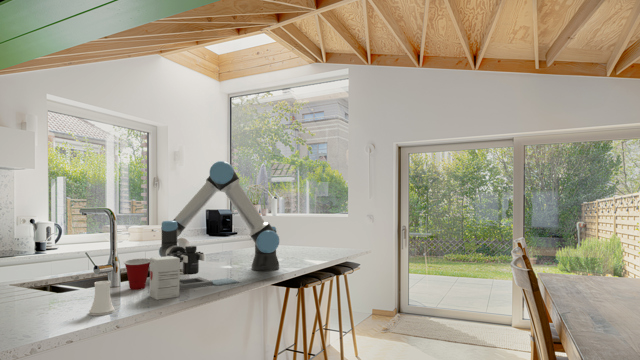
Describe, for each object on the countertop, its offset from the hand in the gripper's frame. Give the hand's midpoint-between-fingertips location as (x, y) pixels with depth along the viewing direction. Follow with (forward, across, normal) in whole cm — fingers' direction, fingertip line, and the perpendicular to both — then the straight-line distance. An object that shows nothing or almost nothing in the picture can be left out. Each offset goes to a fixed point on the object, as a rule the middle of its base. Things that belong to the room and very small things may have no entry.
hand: (195, 258), depth 179 cm
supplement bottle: (-5, 0, -7) cm, 9 cm away
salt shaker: (+22, +41, -12) cm, 48 cm away
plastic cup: (-11, +21, -12) cm, 26 cm away
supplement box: (+11, +17, -12) cm, 24 cm away
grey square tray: (-5, 0, -12) cm, 13 cm away
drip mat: (0, -13, -12) cm, 18 cm away
